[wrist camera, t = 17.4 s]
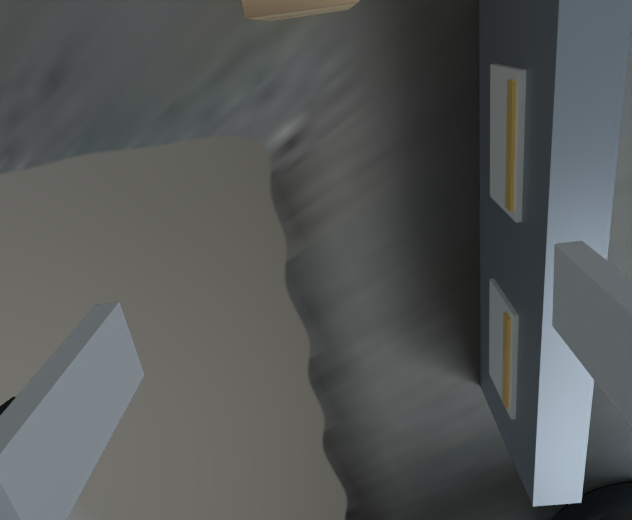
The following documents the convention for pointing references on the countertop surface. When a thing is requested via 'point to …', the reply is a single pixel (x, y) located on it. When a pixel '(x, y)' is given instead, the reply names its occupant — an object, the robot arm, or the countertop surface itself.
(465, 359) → the countertop surface
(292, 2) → the oak block
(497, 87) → the panel
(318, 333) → the countertop surface
